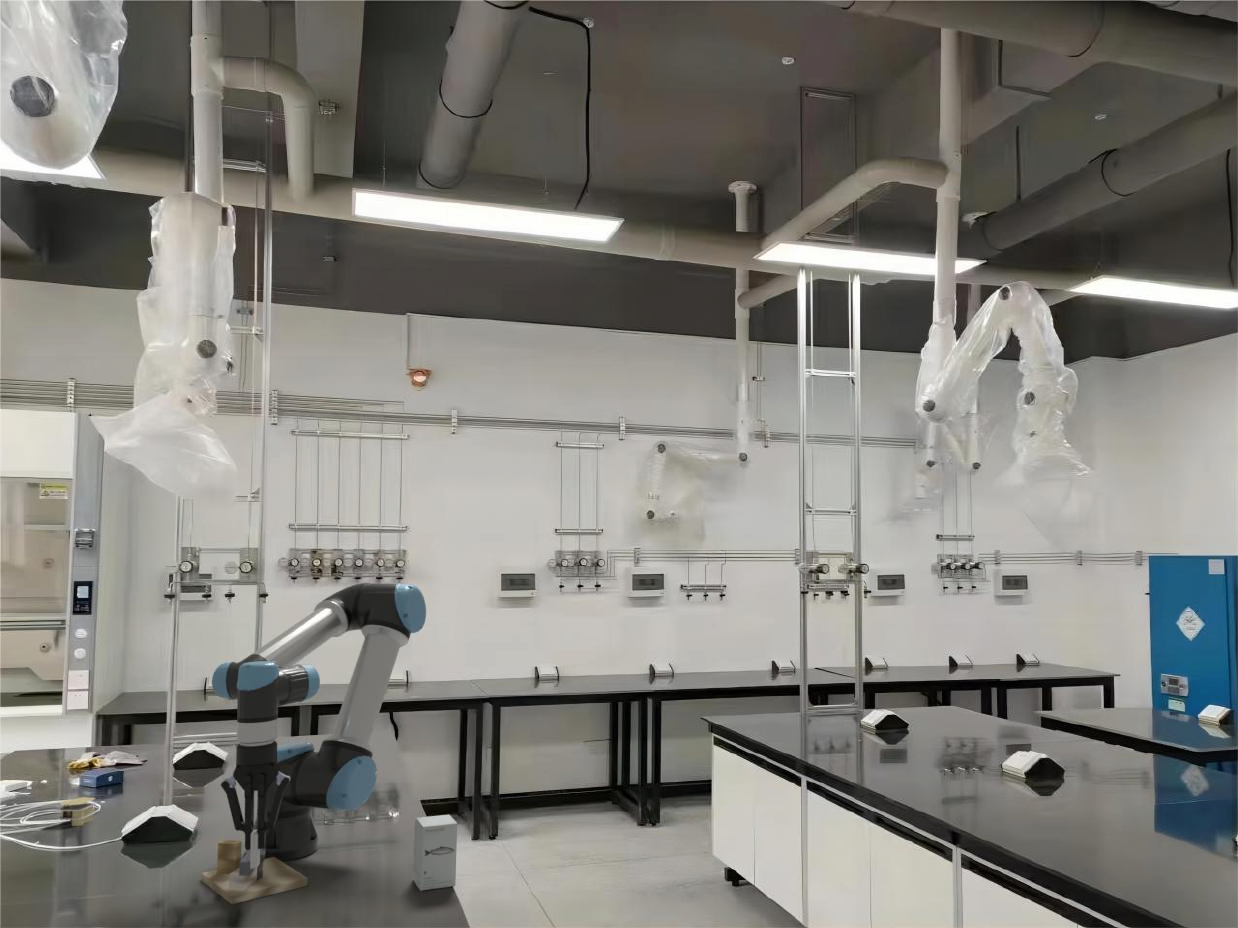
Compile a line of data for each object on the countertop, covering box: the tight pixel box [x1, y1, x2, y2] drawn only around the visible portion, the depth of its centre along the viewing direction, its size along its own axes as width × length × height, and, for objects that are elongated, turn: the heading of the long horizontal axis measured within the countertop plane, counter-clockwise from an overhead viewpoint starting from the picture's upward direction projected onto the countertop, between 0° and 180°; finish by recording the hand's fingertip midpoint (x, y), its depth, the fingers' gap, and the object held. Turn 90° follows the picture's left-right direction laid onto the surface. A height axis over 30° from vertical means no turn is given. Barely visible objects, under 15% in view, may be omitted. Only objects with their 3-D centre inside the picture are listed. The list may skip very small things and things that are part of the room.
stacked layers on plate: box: [58, 796, 96, 827], centre depth 228 cm, size 10×9×6 cm
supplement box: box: [412, 814, 458, 892], centre depth 189 cm, size 7×7×13 cm
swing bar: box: [239, 846, 266, 876], centre depth 183 cm, size 11×4×2 cm, turn 9°
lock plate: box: [201, 839, 309, 905], centre depth 188 cm, size 15×17×8 cm
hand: (254, 865), depth 179 cm, fingers closed
